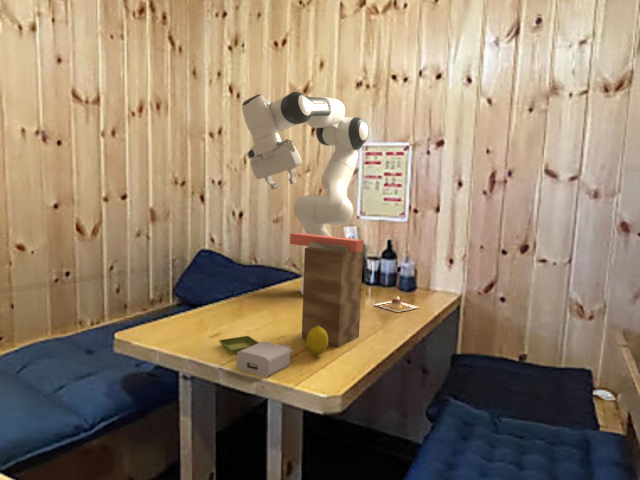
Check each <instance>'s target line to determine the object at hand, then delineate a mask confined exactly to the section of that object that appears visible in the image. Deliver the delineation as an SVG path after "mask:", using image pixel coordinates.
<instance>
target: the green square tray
mask: <svg viewBox="0 0 640 480" xmlns="http://www.w3.org/2000/svg"><path fill="white" fill-rule="evenodd" d="M218 341H219V343H220V345H221V346H222V347H223V348H224V349H226V350H227V351H228V352H229V353H231V354H232V355H237V352H239V351H241V350H244V349H246V348H248V347H251V346H253V345H255V344H258V343H260V342H258V341H257V340H255V339H254V338H253V337H252V336H250V335H244V336H243V335H242V336H238V337H232V338H231V337H230V338H225V339H224V338H223V339H219V340H218Z"/></svg>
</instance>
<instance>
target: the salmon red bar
mask: <svg viewBox="0 0 640 480" xmlns="http://www.w3.org/2000/svg"><path fill="white" fill-rule="evenodd" d="M332 236H333V235H331V236H323V235H314V234H306V233H305V232H294V233H290V234H289V244H290V245H295V246H303V247H307V246H309V242H318V243H327V244H335V245H344V246H348V251H351V252H359V251H363V252H364V239H358V238H349V237H341V236H340V237H339V236H333V237H332Z"/></svg>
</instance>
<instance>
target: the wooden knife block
mask: <svg viewBox="0 0 640 480" xmlns="http://www.w3.org/2000/svg"><path fill="white" fill-rule="evenodd" d="M303 259H304V262H303V263H304V265H303V273H304V285H303V295H302V317H301V318H302V320H301V340H306V341H307V336H308V333H309V331H310V330H311V329H312V328H314V327H316V326H320V327H321V328H323V329H324V330H325V331H326V332H327V335H328V346H329V347H330V346H331V347H333V348H341V347H342V346H344V345H346V344H348V343H350V342H352V341H353V340H355V339H357V338H359V337H360V321H361V316H360V307H361V302H362V301H361V299H362V281H363V259H364V250H363V251H359V252H351V251H348V246H344V245H335V244H327V243H318V242H309V247H308V248H307V247H305V248H304V258H303Z"/></svg>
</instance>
